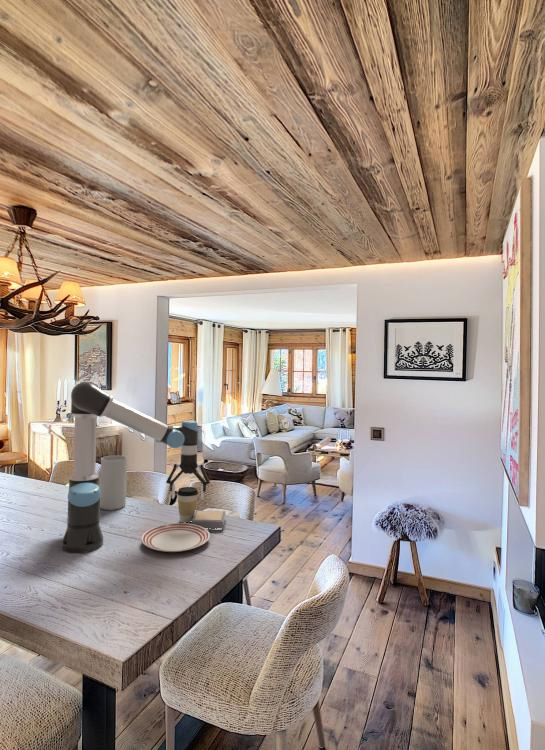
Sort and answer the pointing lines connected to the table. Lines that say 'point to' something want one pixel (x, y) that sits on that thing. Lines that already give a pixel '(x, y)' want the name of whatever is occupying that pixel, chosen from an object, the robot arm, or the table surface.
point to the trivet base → (209, 519)
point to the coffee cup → (187, 503)
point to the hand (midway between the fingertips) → (187, 498)
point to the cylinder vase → (113, 482)
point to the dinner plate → (175, 537)
